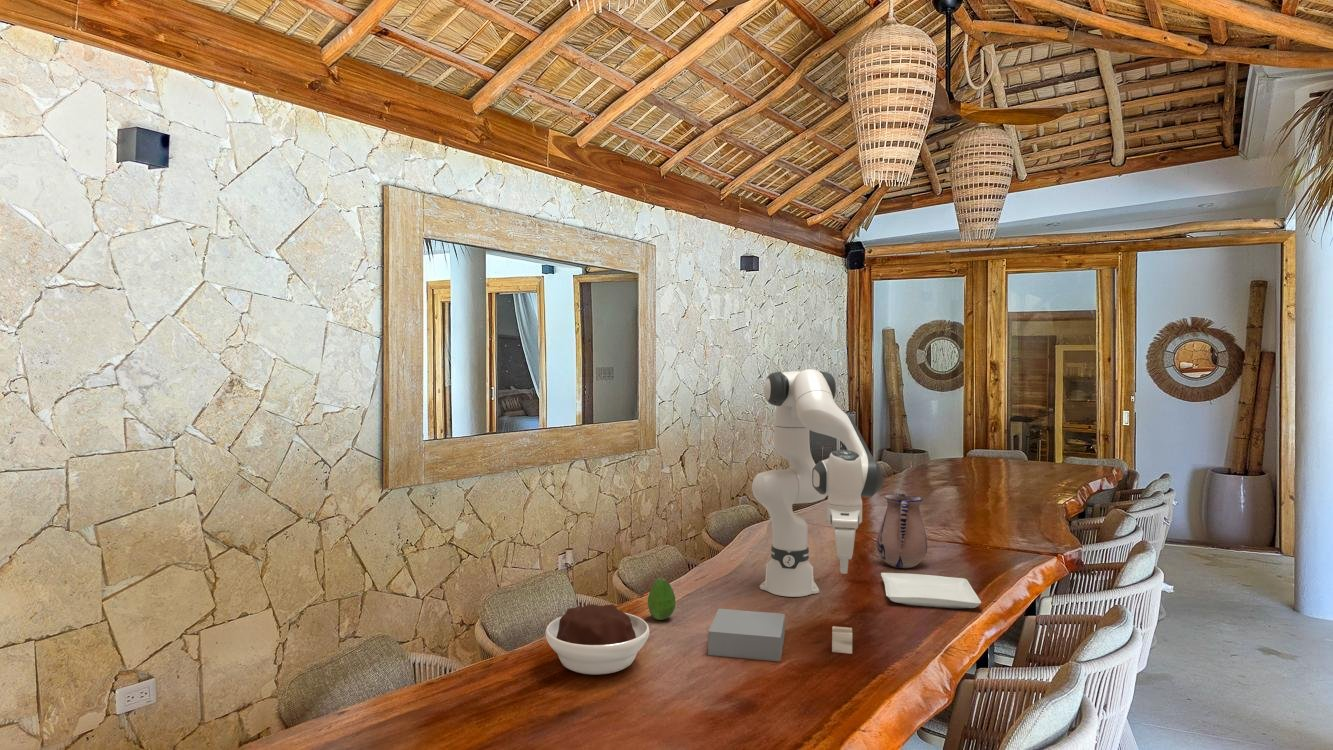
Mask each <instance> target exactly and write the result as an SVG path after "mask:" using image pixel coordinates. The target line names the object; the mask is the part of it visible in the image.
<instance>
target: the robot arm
mask: <svg viewBox="0 0 1333 750" xmlns="http://www.w3.org/2000/svg"><path fill="white" fill-rule="evenodd" d="M764 382H765V383H764V386H763V391H764V392H763V393H764V396H765V400H766V401H767V402H768V403H769V405H771V406H776V407H775V413H774V426H773V427H774V433H773V437H774V439H773V441H774V442H773V448H774V449H775V452H776V453H777V454H778V455H779V456H780V457H782V458H784V459H786V460H787V461H788V464H789V468H788V469H770V470H766V471H762V472H759V473H757V474H756V475H755V476H754V477H753V480H752V482H751V483H752V484H751V491H752V495H753V496H754V498H755V500H756V501H757V502H758V503H759V504H761V505H762V506H763V507H764V508H765V509H766V511H767V513H768V515H769V518H770V520H771V527H772V545H771V547H770V557H771V558H770V560H769V561H768V562H767V563H766V564H765V565H766V566H765V580H764V581H763V582H761V584H759V589H760V590H763V591H766V592H768V593H771V594H773V595H776V596H780V597H781V596H782V597H790V598H792V597H793V598H797V597H806V596H808V595H809V596H810V595H813V594H819V593H820V589H819V587H818V585H817V583H816V582H815V580H814V579H815V577H814V566H812V563H811V562H810V561H809V558H810V549H809V547H808V540H809V539H808V538H809V533H808V531H809V526H808V523H807V522H806V520H805V519H804V518H803V517H802V516H800V515H799V514H796V513H794V511H793V505H794V504H795V505H796V504H808V503H809V504H812V503H815V502H818V501H822V500H824V499H826V497H827V496H828V497H827V502H826V521H828V522H829V523H830V526H831V527H832V529H833V534H834V543H835V553H836V557H837V559H839V565H840V566H839V567H840V568H839V569H840V570H839V572H840V574H842V575H844V574H845V575H846V574H848V570H849V569H848V568H849V560H852V558H853V554H854V547H855V540H856V531H857V529H858V528H859V525H860V524H861V523H862V522H863V499H862V497H863V498H865V497H866V498H872V497H873V496H874V495H876V494H877V493H878V492H879V491H880V490H881V489H882V487H883V484H884V475H883V470H882V468H881V466H880V465H879V463H878V462H877V460H876V459H875V458H874V457H873V455H872V454H871V451H870V449H869V448H868V446H867V444H866V441H865V440H864V438H863V436H862V434H861V432H860V430H859V428H858V426H857V425H856V423H855V421H854V420H853V418H852V417H851V415H849V414H847V413H845V412H844V411H843V410H842V409H841V408H840V407H839V406H838V405H837V403H836V402H835V400H834V399H835V397H836V393H837V383H836V380H835V377H834V376H833V375H832V374H831V373H829V372H825V371H822V370H820V371H819V370H818V369H815V368H813V369H812V368H807V369H802V370H791V371H783V372H781V371H776V372H771V373H769V375H768V376H767V377H766V378H765V381H764ZM810 431H811V432H814V433H816V434H821V435H825V436H828V437H830V438H831V437H832V438H834V439H836V440H838V441H839V442H841V443H842V444H843V445H844V446H845V447H846V449H837V450H833V451H831V453H829V457H828V458H826V459H823V460H819V461H818V462H817V463H815V460H814V459H813V456H812V452H811V444H810Z"/></svg>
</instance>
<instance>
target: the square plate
mask: <svg viewBox="0 0 1333 750" xmlns="http://www.w3.org/2000/svg"><path fill="white" fill-rule="evenodd" d="M880 576H881V579H882V581H883V584H884V591H885V596H886V597H887V598H888V599H889V600H890V601H891V602H894V603H898V604H902V605H908V606H916V607H918V606H920V607H931V608H932V607H934V608H947V609H974V608H977V607H979V605H981V604H982V601H981V599H980V598H979V596H978V595H977V593H976V591H975V589H973V587H972V585H971V584H970V582H969V581H968V579H966V578H964V577H951V576H941V575H934V574H933V575H931V574H918V573H904V572H903V573H902V572H901V573H898V572H896V573H895V572H880Z"/></svg>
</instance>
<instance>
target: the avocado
mask: <svg viewBox="0 0 1333 750" xmlns="http://www.w3.org/2000/svg"><path fill="white" fill-rule="evenodd" d="M647 608H648V611H649V614H650V615H651V617H653V618H654V619H655V620H656V621H657V620H658V621H664V620H667V619H668V618H670V617H671V616H672V615H673V613H674V610H675V609H676V595H675V592H674V589H673V588H672V585H671V584H670V582H669V581H668V580H667V579H666V578H664V577H659V578H657V579H656V580H655V581H654V582H653V584H652V585H651V588H650V591H649V594H648V597H647Z"/></svg>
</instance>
